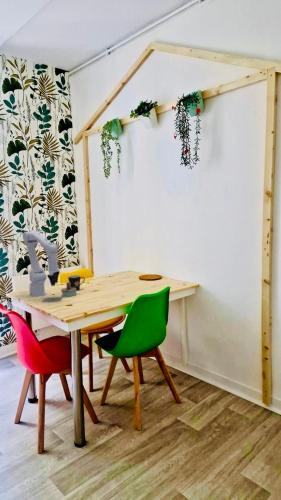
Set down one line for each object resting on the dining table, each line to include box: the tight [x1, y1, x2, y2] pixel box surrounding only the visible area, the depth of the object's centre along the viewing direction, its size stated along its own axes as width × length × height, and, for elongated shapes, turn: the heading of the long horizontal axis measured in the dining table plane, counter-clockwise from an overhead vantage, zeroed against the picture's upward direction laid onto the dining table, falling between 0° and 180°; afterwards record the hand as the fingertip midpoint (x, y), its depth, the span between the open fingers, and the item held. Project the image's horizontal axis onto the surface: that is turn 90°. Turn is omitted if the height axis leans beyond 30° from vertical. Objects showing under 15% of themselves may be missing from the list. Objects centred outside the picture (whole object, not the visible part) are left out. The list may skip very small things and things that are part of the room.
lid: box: [60, 281, 77, 293], centre depth 225 cm, size 10×10×5 cm
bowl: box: [61, 291, 77, 298], centre depth 225 cm, size 9×9×4 cm
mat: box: [41, 296, 64, 303], centre depth 215 cm, size 12×10×1 cm
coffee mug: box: [67, 274, 85, 292], centre depth 240 cm, size 12×9×10 cm
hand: (54, 284), depth 214 cm, fingers open, 7 cm apart
